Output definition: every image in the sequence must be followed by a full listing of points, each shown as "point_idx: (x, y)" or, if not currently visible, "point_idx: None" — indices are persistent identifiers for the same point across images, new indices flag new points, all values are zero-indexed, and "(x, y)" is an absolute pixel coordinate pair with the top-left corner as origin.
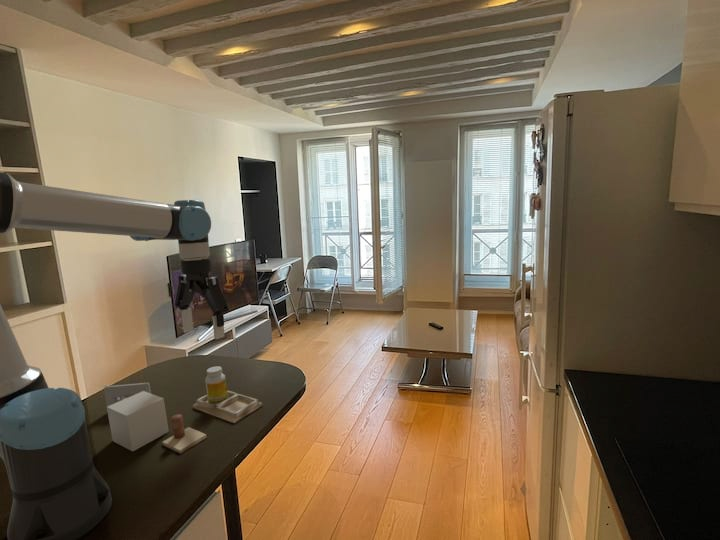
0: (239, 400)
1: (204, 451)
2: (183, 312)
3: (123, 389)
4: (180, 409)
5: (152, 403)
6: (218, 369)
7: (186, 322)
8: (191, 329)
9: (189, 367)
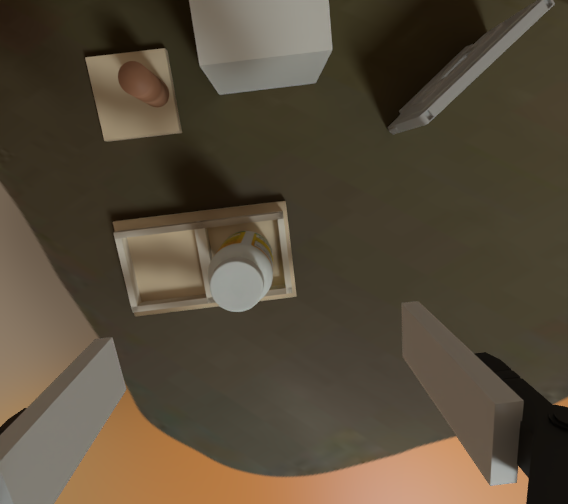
0: (198, 289)
1: (52, 103)
2: (479, 393)
3: (481, 51)
4: (309, 175)
5: (193, 18)
6: (219, 294)
7: (429, 351)
8: (405, 348)
9: (539, 327)
